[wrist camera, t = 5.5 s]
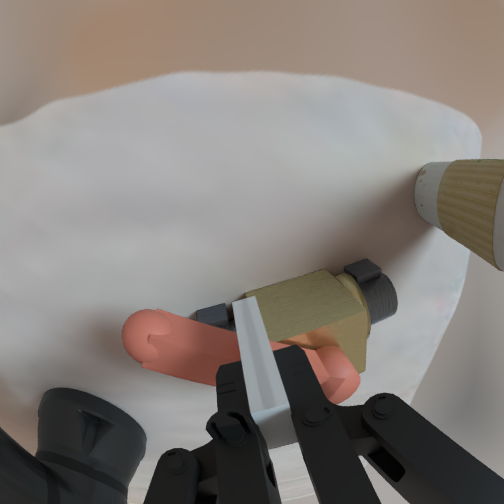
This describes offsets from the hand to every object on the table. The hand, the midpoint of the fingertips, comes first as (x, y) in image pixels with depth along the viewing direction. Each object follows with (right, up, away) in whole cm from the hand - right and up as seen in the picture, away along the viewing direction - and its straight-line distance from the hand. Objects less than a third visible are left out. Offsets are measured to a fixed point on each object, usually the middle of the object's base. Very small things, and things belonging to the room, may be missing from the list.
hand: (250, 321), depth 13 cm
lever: (0, -2, +2) cm, 3 cm away
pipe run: (+4, -2, +10) cm, 11 cm away
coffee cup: (+18, +9, +9) cm, 22 cm away
